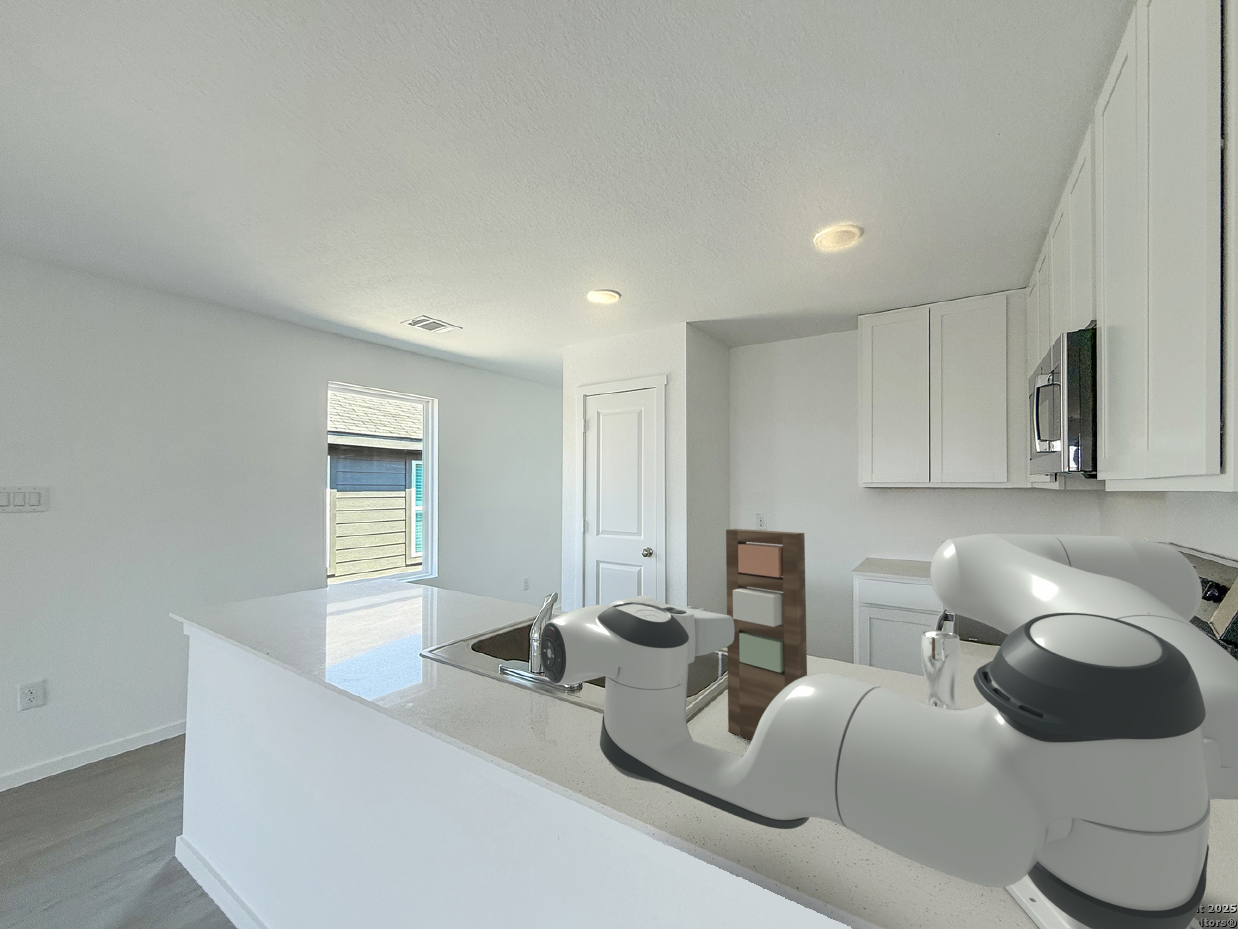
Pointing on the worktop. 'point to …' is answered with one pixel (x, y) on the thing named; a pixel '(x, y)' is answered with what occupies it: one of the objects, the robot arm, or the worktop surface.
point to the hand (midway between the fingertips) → (698, 612)
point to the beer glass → (941, 668)
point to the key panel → (765, 628)
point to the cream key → (758, 606)
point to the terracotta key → (760, 559)
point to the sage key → (762, 651)
